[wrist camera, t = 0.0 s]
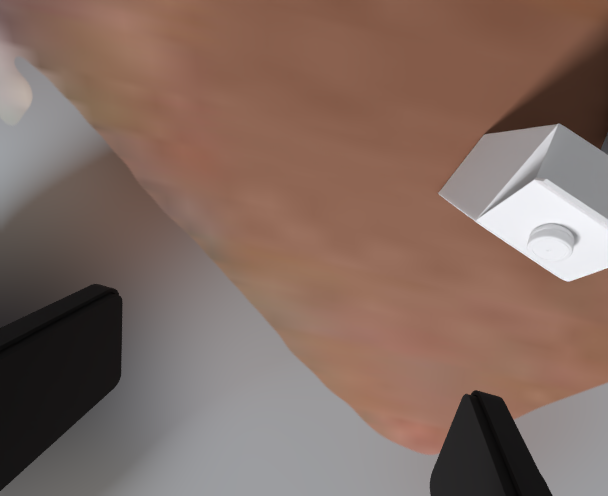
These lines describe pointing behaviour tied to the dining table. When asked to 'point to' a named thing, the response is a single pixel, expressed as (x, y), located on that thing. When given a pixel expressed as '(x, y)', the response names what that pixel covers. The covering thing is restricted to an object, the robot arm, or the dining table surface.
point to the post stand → (605, 145)
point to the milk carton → (539, 196)
